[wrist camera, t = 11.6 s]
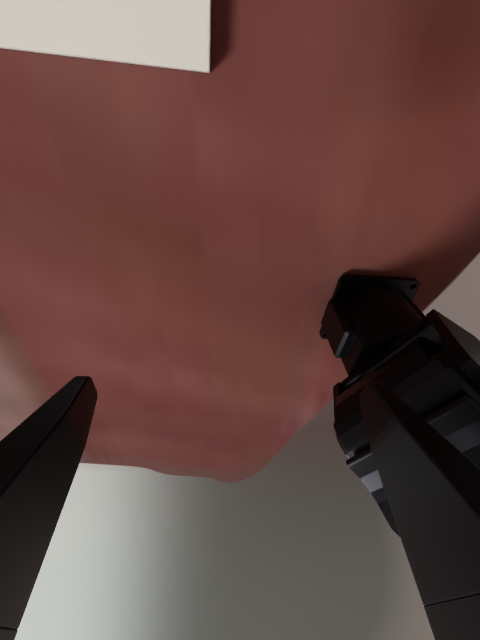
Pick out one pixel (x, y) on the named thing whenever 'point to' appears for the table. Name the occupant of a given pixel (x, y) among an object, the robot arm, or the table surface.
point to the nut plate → (112, 30)
